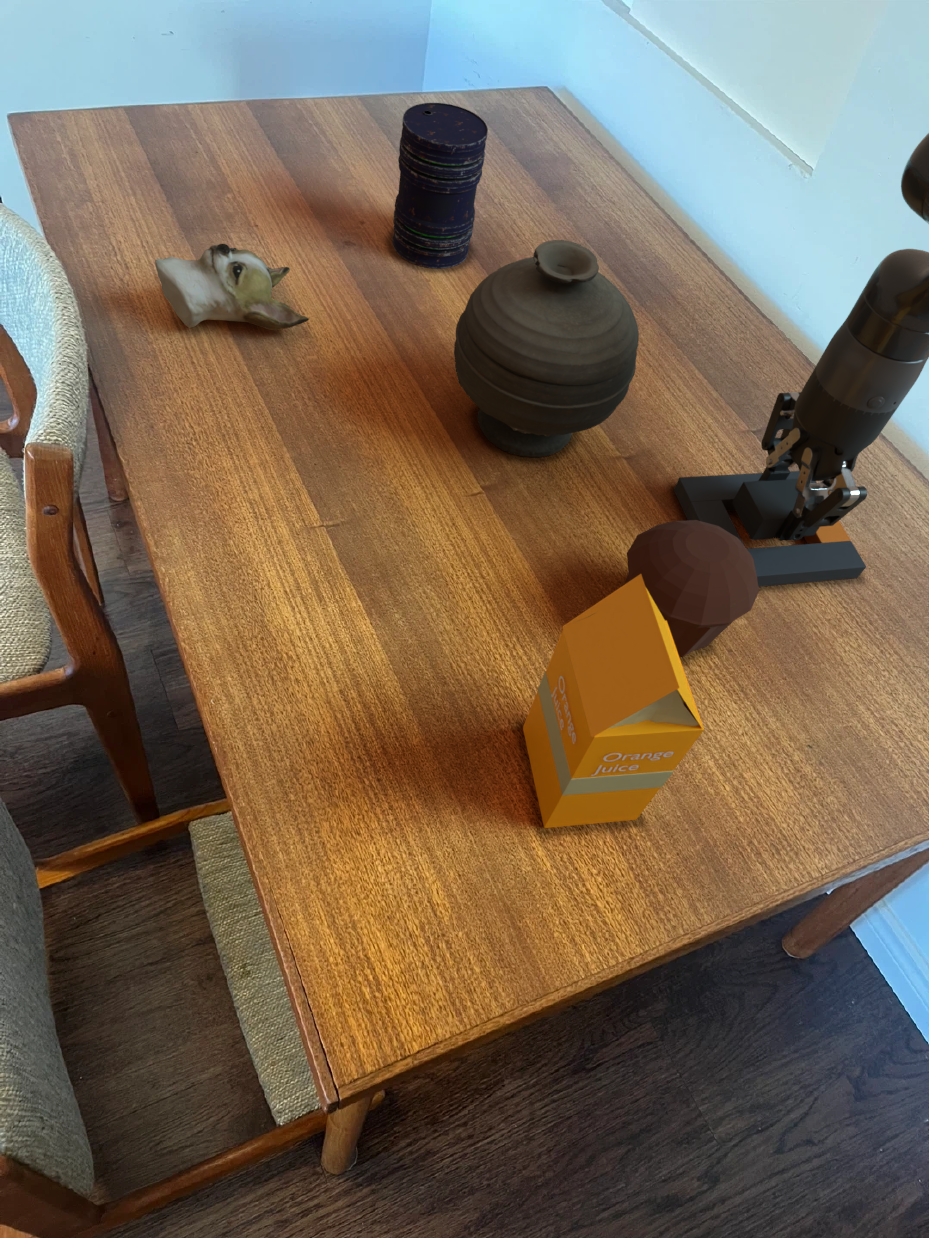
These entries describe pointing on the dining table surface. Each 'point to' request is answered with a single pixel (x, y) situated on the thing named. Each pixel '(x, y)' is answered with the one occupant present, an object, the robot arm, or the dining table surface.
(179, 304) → the ceramic sculpture
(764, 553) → the socket pad
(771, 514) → the black block
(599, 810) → the orange juice
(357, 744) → the dining table surface
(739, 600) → the muffin
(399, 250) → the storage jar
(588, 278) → the pot
